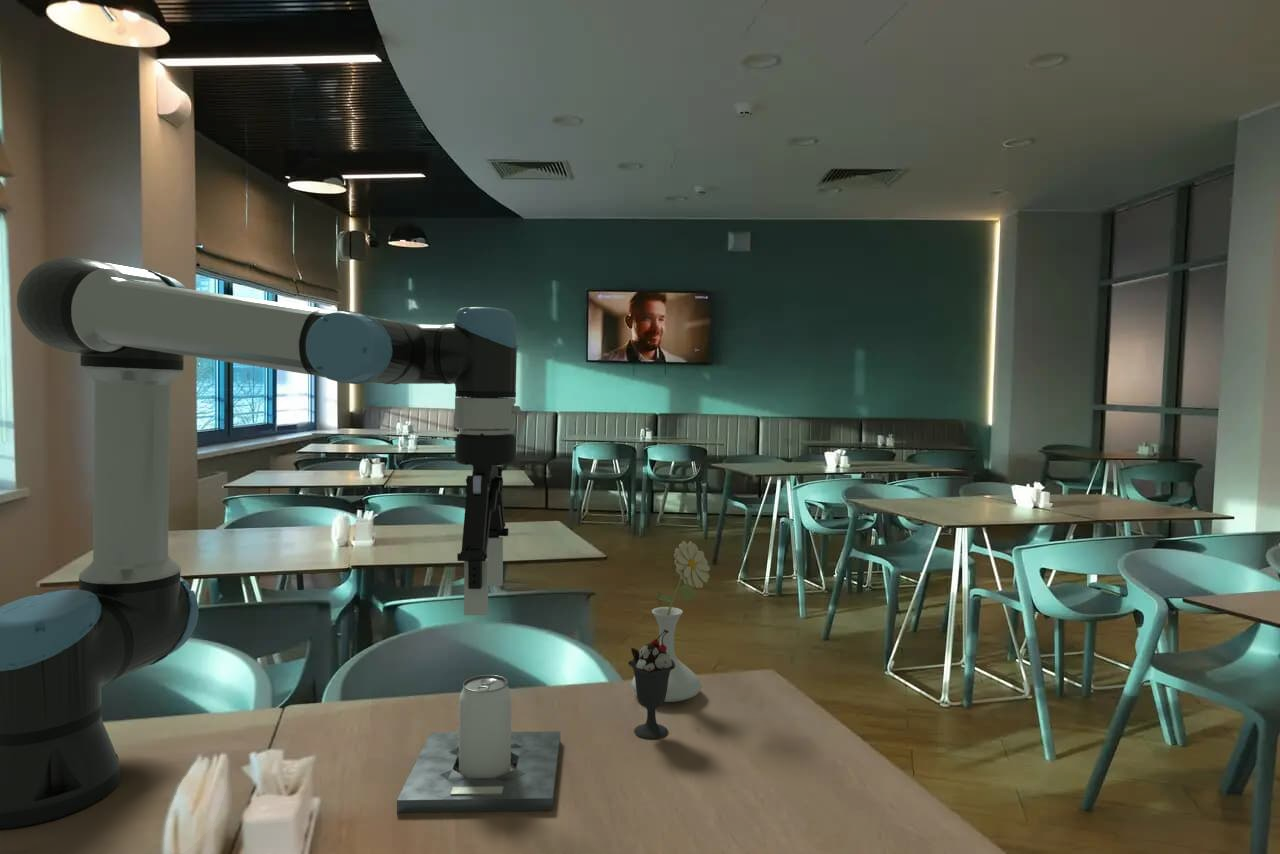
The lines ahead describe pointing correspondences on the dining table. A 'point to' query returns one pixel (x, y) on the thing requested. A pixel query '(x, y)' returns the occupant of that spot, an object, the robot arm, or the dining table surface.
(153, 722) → the dining table surface
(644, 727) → the sundae
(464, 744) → the can
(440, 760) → the socket plate
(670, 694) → the flower in vase
